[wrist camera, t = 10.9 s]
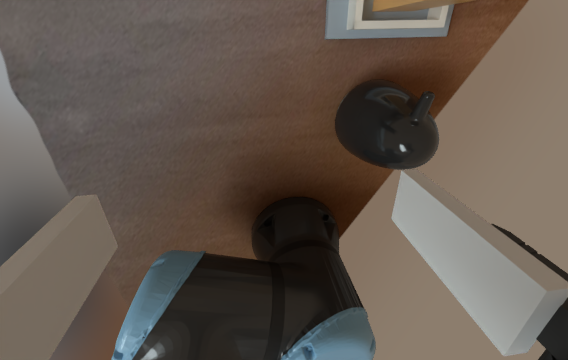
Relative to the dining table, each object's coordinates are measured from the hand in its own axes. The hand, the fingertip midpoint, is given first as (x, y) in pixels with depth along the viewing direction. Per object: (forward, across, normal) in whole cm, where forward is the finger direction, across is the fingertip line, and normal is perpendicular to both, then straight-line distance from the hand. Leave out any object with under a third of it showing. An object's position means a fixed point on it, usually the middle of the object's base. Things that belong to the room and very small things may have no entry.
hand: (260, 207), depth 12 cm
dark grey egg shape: (+27, -16, +3) cm, 31 cm away
